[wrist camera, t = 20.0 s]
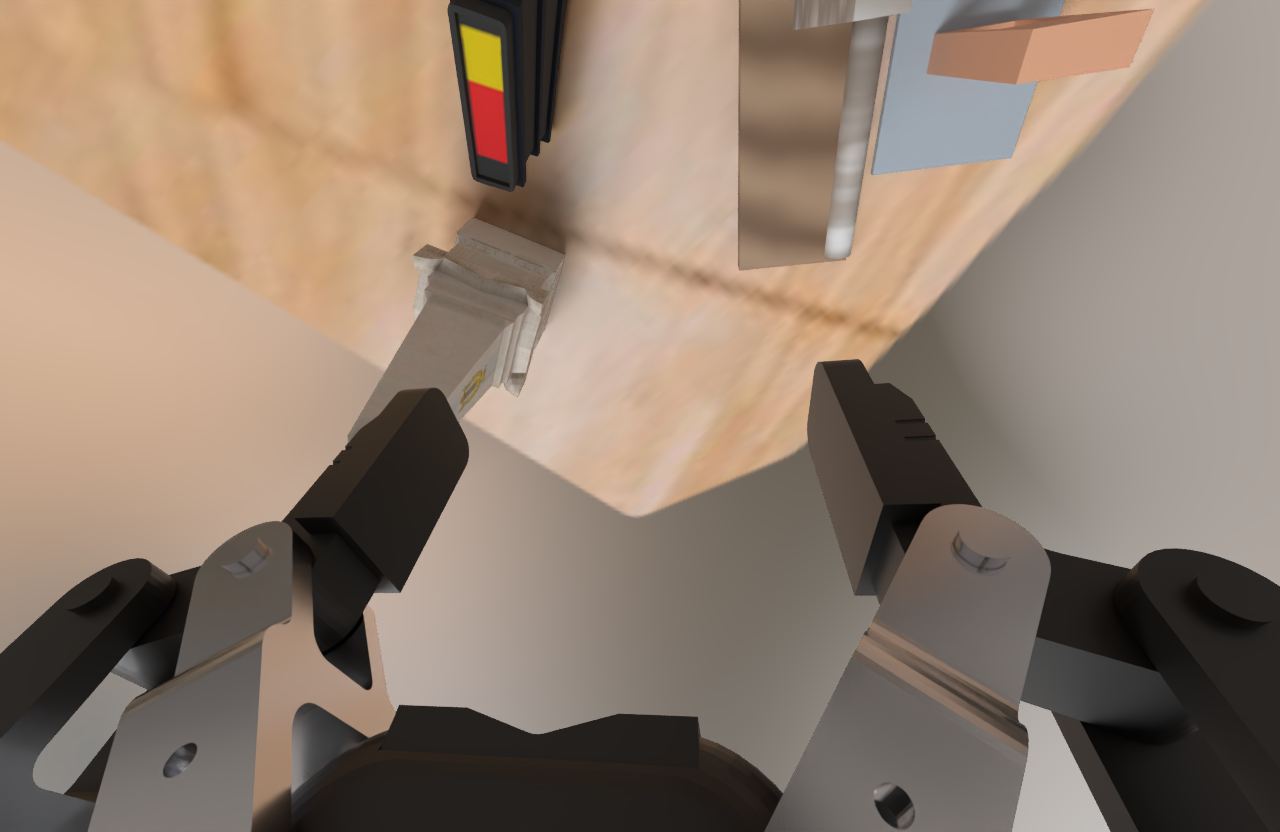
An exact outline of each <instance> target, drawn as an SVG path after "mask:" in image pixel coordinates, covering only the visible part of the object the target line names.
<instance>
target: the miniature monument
mask: <svg viewBox="0 0 1280 832" xmlns="http://www.w3.org/2000/svg"><path fill="white" fill-rule="evenodd" d="M564 258H565V254H563V253H560V252H558V251H555V250H553V249H550V248H548V247H545V246H543V245H540V244H538V243H536V242H533V241H531V240H528V239H526V238H523V237H521V236H518V235H516V234H513V233H511V232H508V231H506V230H504V229H501V228H499V227H496V226H494V225H491V224H489V223H486V222H484V221H481V220H479V219H476V218H473V219H471V220H470V221H469V222H468V223H467V224H465V225H464V226H463V227H462V228H460V229H459V230H458V231H457V237H456V246H455V247H454V248H452V249H451V250H450V251H449V252H446V251H443V250H441V249H438V248H436V247H433V246H431V245H428V244H427V245H426V246H424V247H423V248H422V249H420V250H419V251H418V252H417V253H415V254H414V255H413V263H414V268H415V269H416V270H420V273H419V279H418V284H417V290H416V296H415V302H414V307H413V310H414V324H413V326H412V327H411V329H410V331H409V332H408V334H407V336H406V338H405V339H404V341H403V343H402V344H401V346H400V348H399V349H398V351H397V353H396V354H395V356H394V358H393V360H392V361H391V363H390V365H389V366H388V368H387V370H386V371H385V373H384V375H383V377H382V378H381V380H380V382H379V383H378V385H377V387H376V389H375V390H374V392H373V394H372V395H371V397H370V399H369V400H368V402H367V404H366V405H365V407H364V409H363V411H362V412H361V414H360V416H359V417H358V419H357V421H356V422H355V424H354V426H353V427H352V429H351V431H350V433H349V434H348V443H349V442H350V440H351V439H352V438H353V437H354V436H355V434H356V433H357V432H358V431H359V430H360V429H361V428H362V427H364V426H365V425H366V424H368V423H369V422H370V421H372V420H373V419H374V418H376V417H377V416H378V415H379V414H380V413H381V412H382V411H383V409H384V408H385V407H386V406H387V405H388V403H389V402H390V401H391V400H392V399H393V397H394V396H395V395H396V394H397V393H398V392H399V391H401V390H406V389H421V388H438V389H440V390H441V391H442V392H443V393H444V395H445V397H446V399H447V401H448V403H449V405H450V407H451V409H452V411H453V413H454V415H455V417H456V419H457V421H458V422H459V421H460V420H461V419H462V418H463V417H464V415H465V414H466V413H467V412H468V411H469V410H470V409H471V408H472V407H473V406H474V404H475V403H476V402H477V401H478V400H479V399H480V398H481V397H482V396H483V395H484V394H485V392H486V391H487V390H488V389H489V388H490V387H491V386H494V387H496V388H499V387H500V385H501V383H504V387H505V388H506V390H507V391H508V392H510V393H511V394H512V395H515V396H517V397H518V395H519V393H520V391H521V389H522V387H523V385H524V383H525V380H526V376H527V372H528V369H529V365H530V361H531V358H532V354H533V350H534V349H535V348H536V346H537V344H538V342H539V340H540V338H541V336H542V334H543V332H544V329H545V325H546V322H547V318H548V315H549V311H550V308H551V304H552V301H553V297H554V294H555V290H556V286H557V283H558V279H559V276H560V272H561V269H562V265H563V262H564Z"/></svg>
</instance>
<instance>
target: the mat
mask: <svg viewBox="0 0 1280 832" xmlns="http://www.w3.org/2000/svg"><path fill="white" fill-rule="evenodd" d="M1064 1H1065V0H912V4H911V10H910V12H907V13H901V14H898V16H897V22H896V28H895V34H894V40H893V46H892V52H891V58H890V64H889V69H888V75H887V81H886V87H885V93H884V99H883V105H882V111H881V117H880V123H879V129H878V134H877V140H876V146H875V152H874V158H873V164H872V170H871V174H872V175H878V174H886V173H894V172H902V171H910V170H918V169H926V168H934V167H943V166H951V165H959V164H967V163H975V162H983V161H991V160H999V159H1007V158H1012V155H1013V152H1014V149H1015V146H1016V143H1017V140H1018V137H1019V134H1020V131H1021V128H1022V125H1023V122H1024V119H1025V116H1026V113H1027V110H1028V108H1029V105H1030V102H1031V99H1032V96H1033V93H1034V90H1035V87H1036V84H1037V81H1036V82H1029V83H1023V84H1007V83H998V82H990V81H981V80H972V79H964V78H955V77H947V76H938V75H929V74H926V73H927V68H928V64H929V59H930V54H931V49H932V44H933V39H934V34H937V33H943V32H948V31H954V30H960V29H966V28H972V27H978V26H984V25H989V24H995V23H1001V22H1007V21H1013V20H1019V19H1031V18H1044V17H1056V16H1060V13H1061V10H1062V7H1063V4H1064Z"/></svg>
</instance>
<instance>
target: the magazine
mask: <svg viewBox="0 0 1280 832" xmlns="http://www.w3.org/2000/svg"><path fill="white" fill-rule="evenodd" d="M566 4H567V0H450V4H449V6H448V16H449V23H450V30H451V37H452V44H453V50H454V57H455V64H456V71H457V78H458V84H459V91H460V98H461V105H462V112H463V118H464V125H465V132H466V139H467V146H468V152H469V159H470V166H471V173H472V177H473V179H474V180H476V181H477V182H481V183H484V184H487V185H490V186H493V187H497V188H500V189H503V190H506V191H510V192H512V191H513V190H514V188H515V186H516V185H518V186H521V187H524V185H525V182H526V161H527V159H528V157H529V155H530V154H531V155H534V156H538V155H539V154H540V140H541V141H544V142H547V143H549V142H550V138H551V129H552V120H553V111H554V101H555V92H556V83H557V75H558V68H559V60H560V52H561V44H562V36H563V28H564V20H565V12H566Z"/></svg>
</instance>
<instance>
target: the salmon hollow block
mask: <svg viewBox="0 0 1280 832" xmlns="http://www.w3.org/2000/svg"><path fill="white" fill-rule="evenodd" d="M1153 12H1154V9H1145V10H1132V11H1119V12H1107V13H1094V14H1082V15H1069V16H1056V17H1044V18H1031V19H1019V20H1013V21H1007V22H1001V23H995V24H989V25H984V26H978V27H972V28H966V29H960V30H954V31H948V32H943V33H937V34H934V39H933V44H932V49H931V54H930V59H929V64H928V68H927V73H926V74H929V75H938V76H947V77H955V78H964V79H972V80H981V81H990V82H998V83H1007V84H1023V83H1029V82H1036V81H1043V80H1049V79H1056V78H1062V77H1069V76H1075V75H1082V74H1089V73H1095V72H1102V71H1108V70H1115V69H1121V68H1128V67H1130V65H1131V63H1132V60H1133V58H1134V56H1135V53H1136V51H1137V49H1138V46H1139V44H1140V42H1141V40H1142V37H1143V35H1144V33H1145V30H1146V28H1147V26H1148V23H1149V21H1150V19H1151V16H1152V14H1153Z"/></svg>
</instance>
